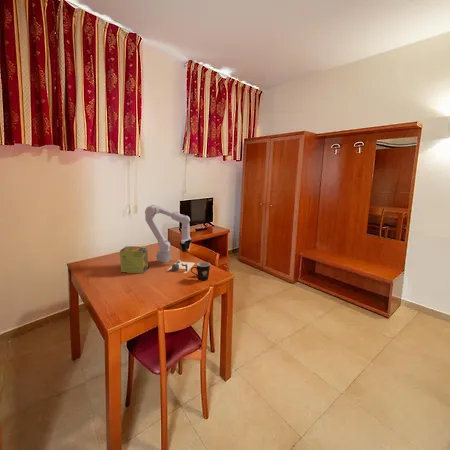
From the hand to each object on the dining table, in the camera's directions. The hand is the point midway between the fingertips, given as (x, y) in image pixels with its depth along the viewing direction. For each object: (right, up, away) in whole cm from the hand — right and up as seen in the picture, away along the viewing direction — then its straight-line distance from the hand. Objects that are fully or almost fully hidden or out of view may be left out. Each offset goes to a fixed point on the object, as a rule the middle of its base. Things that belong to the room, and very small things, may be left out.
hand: (185, 250), depth 189 cm
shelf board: (-2, -12, -10) cm, 16 cm away
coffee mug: (+14, -16, -25) cm, 33 cm away
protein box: (-33, -12, -14) cm, 38 cm away
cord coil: (-5, -13, -16) cm, 21 cm away
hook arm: (+2, -12, -17) cm, 21 cm away
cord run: (-6, -10, -6) cm, 13 cm away
